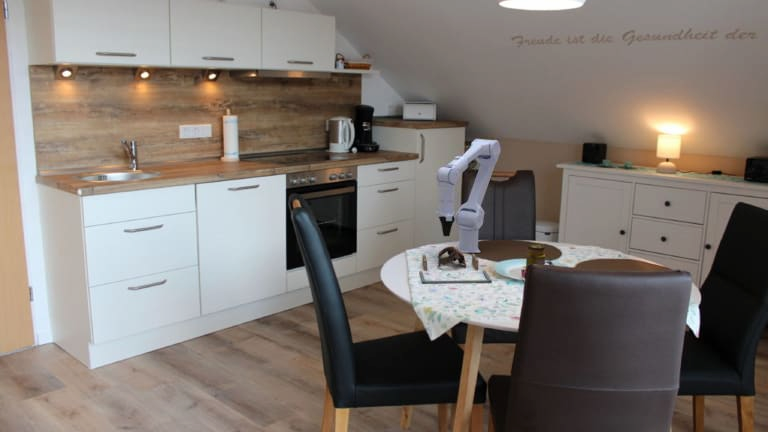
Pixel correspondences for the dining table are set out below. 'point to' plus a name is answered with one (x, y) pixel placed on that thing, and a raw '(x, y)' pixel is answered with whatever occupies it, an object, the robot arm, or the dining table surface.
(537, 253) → the condiment
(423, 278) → the frame
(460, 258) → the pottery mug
